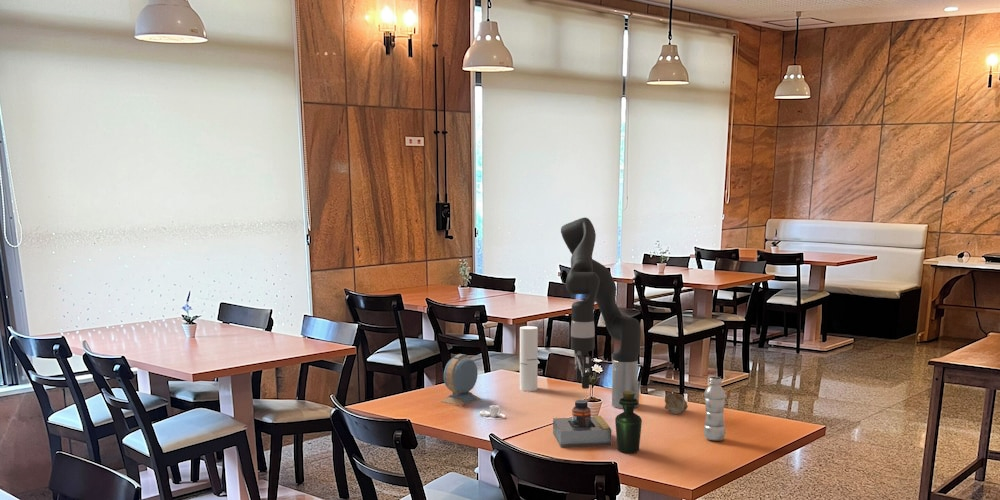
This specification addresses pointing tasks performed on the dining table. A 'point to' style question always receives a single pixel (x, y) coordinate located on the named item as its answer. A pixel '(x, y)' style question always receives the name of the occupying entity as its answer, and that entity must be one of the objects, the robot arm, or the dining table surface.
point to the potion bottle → (628, 425)
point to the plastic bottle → (714, 410)
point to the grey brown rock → (675, 403)
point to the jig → (582, 433)
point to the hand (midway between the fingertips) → (582, 385)
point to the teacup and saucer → (492, 412)
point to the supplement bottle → (581, 414)
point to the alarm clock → (460, 380)
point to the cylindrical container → (528, 358)
